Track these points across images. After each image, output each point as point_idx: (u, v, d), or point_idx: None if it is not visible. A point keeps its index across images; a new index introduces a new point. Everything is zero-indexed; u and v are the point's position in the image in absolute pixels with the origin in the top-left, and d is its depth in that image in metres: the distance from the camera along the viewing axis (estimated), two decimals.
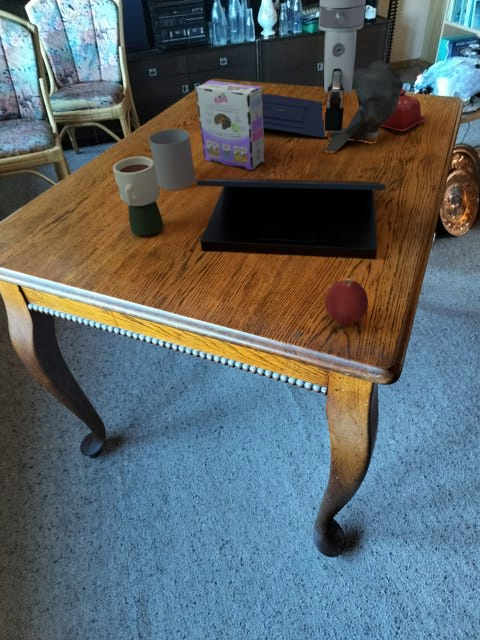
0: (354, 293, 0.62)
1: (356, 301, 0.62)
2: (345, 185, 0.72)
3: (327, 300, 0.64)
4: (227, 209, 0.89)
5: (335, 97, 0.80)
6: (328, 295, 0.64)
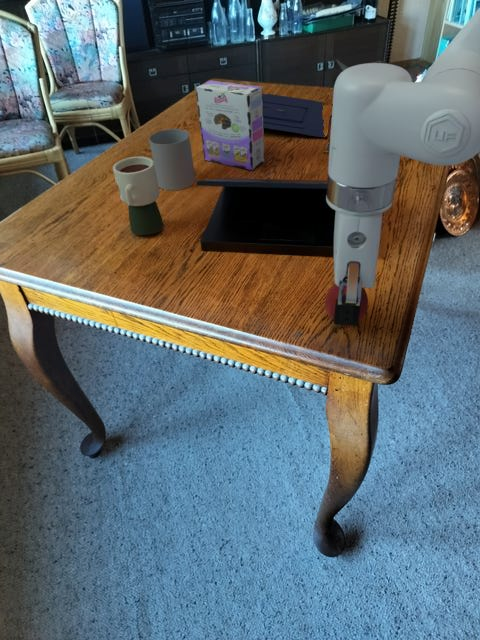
0: None
1: None
2: None
3: (327, 300, 0.64)
4: (227, 209, 0.89)
5: None
6: (328, 295, 0.64)
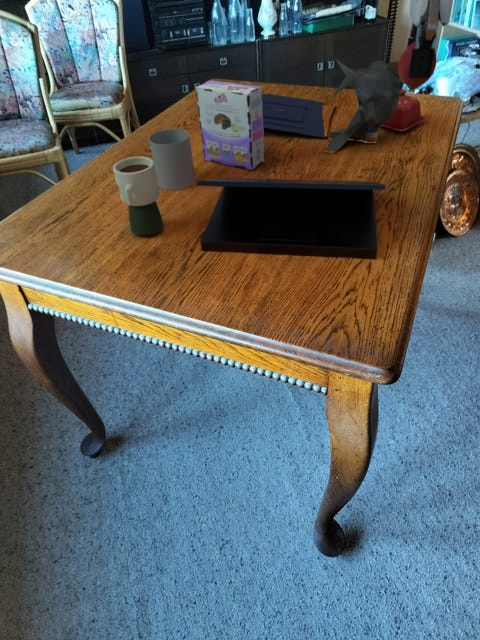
0: None
1: None
2: (345, 185, 0.72)
3: (401, 60, 0.74)
4: (227, 209, 0.89)
5: (429, 35, 0.66)
6: (402, 56, 0.74)
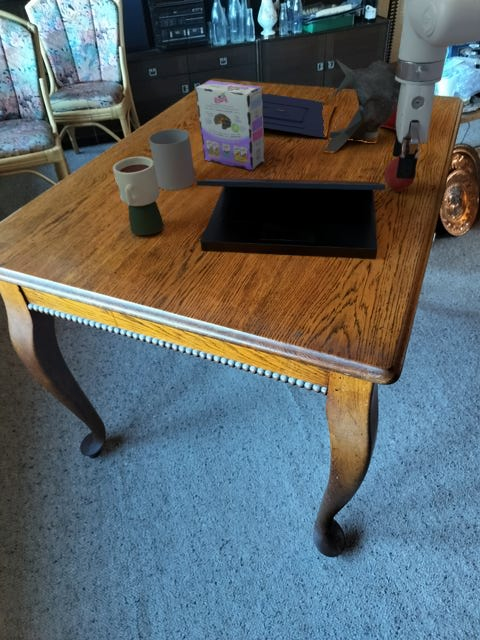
0: None
1: None
2: (345, 185, 0.72)
3: (387, 171, 0.91)
4: (227, 209, 0.89)
5: (412, 148, 0.80)
6: (387, 168, 0.91)
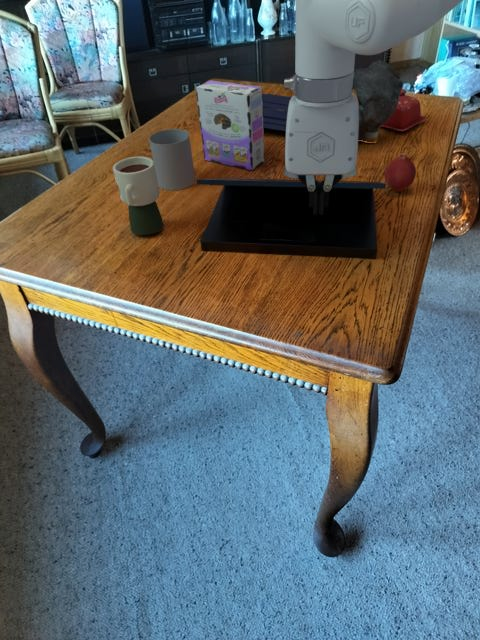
0: (407, 163, 0.89)
1: (409, 169, 0.89)
2: (345, 184, 0.72)
3: (387, 171, 0.91)
4: (227, 209, 0.89)
5: None
6: (387, 168, 0.91)
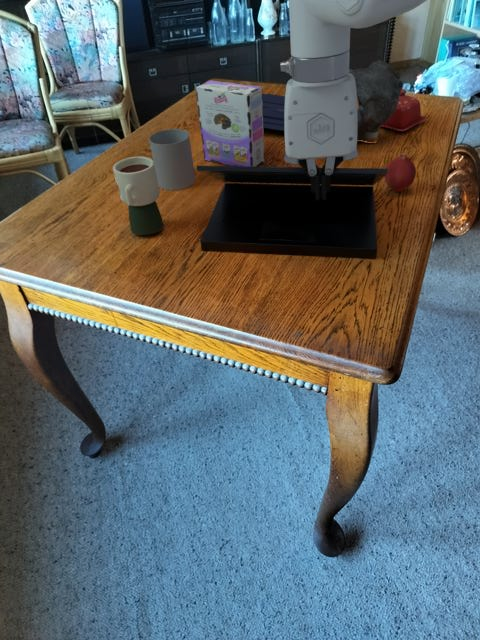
0: (407, 163, 0.89)
1: (409, 169, 0.89)
2: (346, 169, 0.72)
3: (387, 171, 0.91)
4: (227, 209, 0.89)
5: None
6: (387, 168, 0.91)
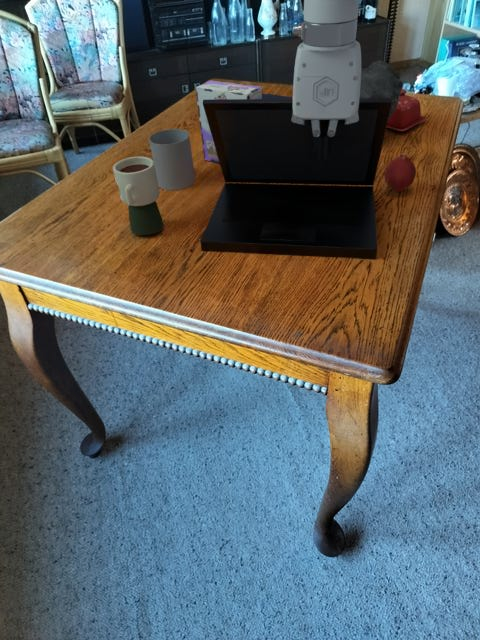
0: (407, 163, 0.89)
1: (409, 169, 0.89)
2: None
3: (387, 171, 0.91)
4: (227, 209, 0.89)
5: None
6: (387, 168, 0.91)
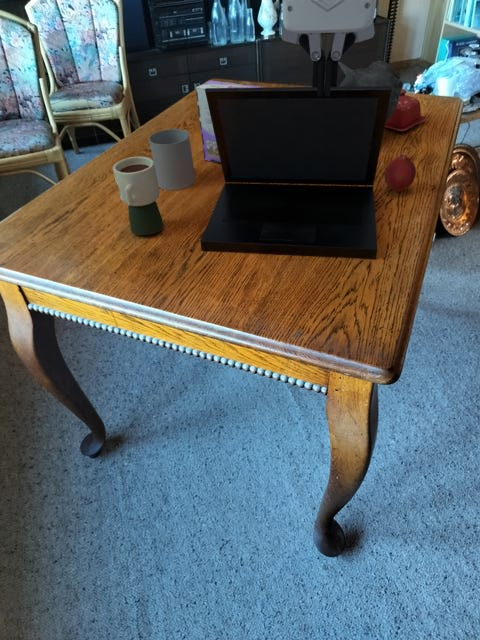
0: (407, 163, 0.89)
1: (409, 169, 0.89)
2: (352, 87, 0.74)
3: (387, 171, 0.91)
4: (227, 209, 0.89)
5: None
6: (387, 168, 0.91)
